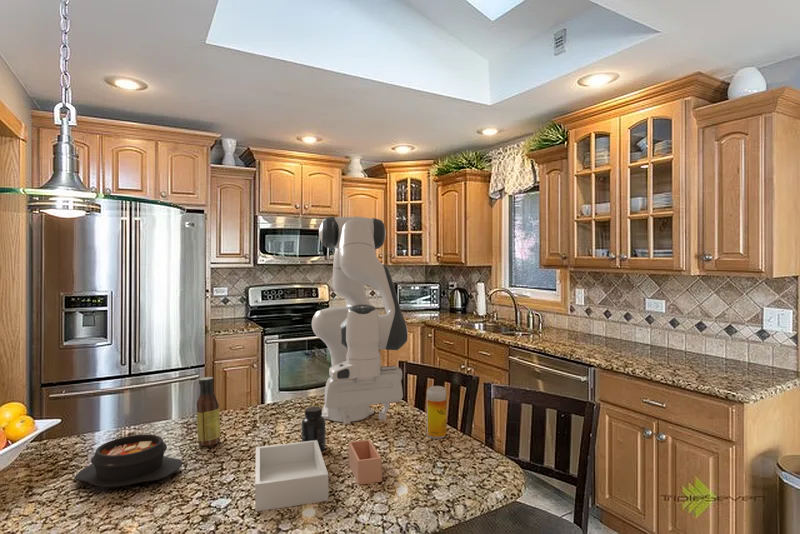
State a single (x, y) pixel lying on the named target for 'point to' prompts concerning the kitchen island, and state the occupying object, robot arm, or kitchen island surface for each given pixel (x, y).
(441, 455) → the kitchen island surface
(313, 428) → the supplement bottle
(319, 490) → the grey crate
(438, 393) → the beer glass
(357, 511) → the kitchen island surface
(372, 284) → the robot arm
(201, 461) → the kitchen island surface
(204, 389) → the sauce bottle
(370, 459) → the terracotta crate
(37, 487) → the kitchen island surface
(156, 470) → the casserole
